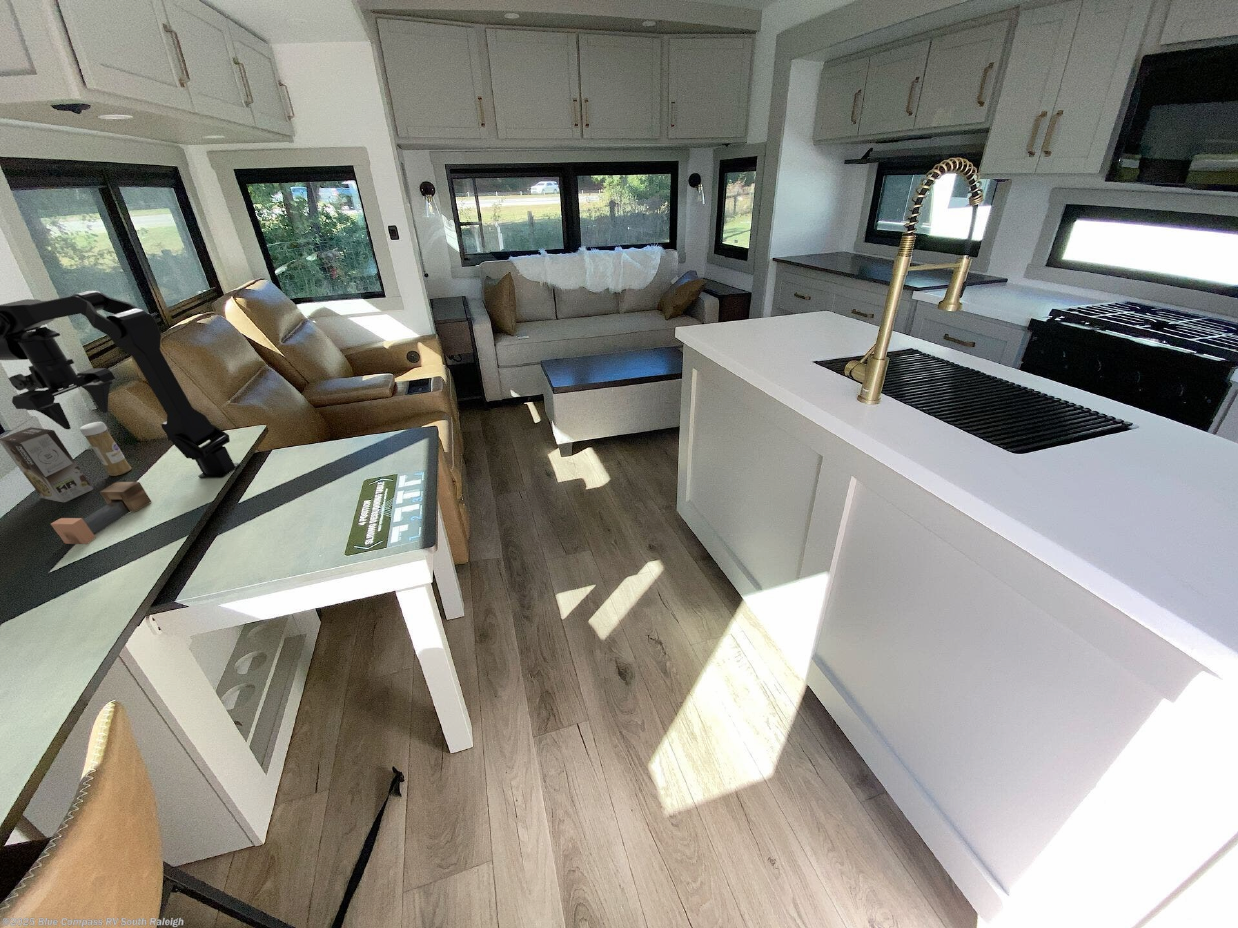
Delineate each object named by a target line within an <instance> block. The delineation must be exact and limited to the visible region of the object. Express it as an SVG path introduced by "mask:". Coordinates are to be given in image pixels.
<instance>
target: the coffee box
mask: <svg viewBox="0 0 1238 928" xmlns="http://www.w3.org/2000/svg"><path fill="white" fill-rule="evenodd" d="M0 445H1V446H2V448H3V449H4V451H6V453H7V454H8V455H9V458H11V460H12V461H13V462H14V463H15V465H16V466H17V467H18V468H19V470H20V471H21V473H22V474H23V475H24V476H25V477H26V479H27V480H28V481H29V483H30V484H31V485H32V487H33V488H34V489H35V491H36V493H38V495H39V496H40V497H41V498H42V499H45V500H48V501H49V500H50V501H55V502H60V503H67V502H69V501H71V500H74V499H77V498H78V497H80V496H83V495H84V494H87V493H89V492H91V491H93V490H94V487H93V486H92V485H91V483H90V482H89V481H88V479H87V477H86V476H85V474H84V473H83V472H82V470H81V469H80V467H79V465H78V464H77V463H76V461H75V460H74V458H73V457H72V455H71V454H70V453H69V451H68V449H67V448H66V446H65V445H64V444H63V442H62V440H61V439H60V437H59V436H58V434H57V433H56V431H55V430H53V429H46V428H41V427H40V428H39V427H33V426H32V427H31V426H30V427H27V428H25V429H21V430H18V431H16V432H14V433H11V434H9V435H6V436H3V437H1V438H0Z"/></svg>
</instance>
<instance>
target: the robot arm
mask: <svg viewBox="0 0 1238 928" xmlns="http://www.w3.org/2000/svg"><path fill="white" fill-rule="evenodd" d="M98 311H104V312H107V313H110V315H108V316H104V315H102V314H100V313H98ZM79 314H80V315H83V316H85V318H86V319H87V320H88V322H89V323H90V325H91V326H92V327H93V328H94V329H95V330H97V331H99V332H101V333H103V334H104V335H107V336H108V338H110V340H111V341H112V342H113V344H114V345H115V347H117V348H119V349H120V350H122V351H123V352H126V354H129V355H131V357H132V358H133V360H134V362H135V363H136V364H137V366H138V368H139V370H140V371H141V373H142V375H143V376H144V378H145V380H146V381H147V383H148V385H149V386H150V389H151V390H152V392H153V393H154V395H155V397H156V398H157V399H158V402H159V404H160V405H161V407H162V409H163V410H164V412H165V414H166V421H164V422H162V423H161V424H160V426H161V429H162V430H163V432H165V435H166V436H167V439H168V441H171V443H172V444H173V445H174V447H176V449H178V451H179V452H181V454H182V455H183V456H184V457H185V458H186V459H191V461H192V460H193V461H195V462H196V464H197V466H198V467H199V469H200V471H201V473H200V474H199V475H198V478H199V479H222V478H224V477H225V476H227V475H228V474H230V473H231V472H233V471H235V469H237V468H238V467H240V466H241V464H240V463H239V462H233V459H232V457H231V455H230V454H229V451H228V449H227V448H226V446H225V445H227V444H228V443H230V441H231V440H230V439H231V438H230V435H229V434H228V433H227V432H225V431H223V430H222V429H221V428H218V427H217V426H216V425H214V424H212V422H211V421H210V420H209V419H208V417H207V416H206V414H204V413H202V412H201V411H198V410H197V409H196V408H194V407H193V406H192V404H191V402H190V400H189V399H188V396H186V393H185V392H184V390H183V388H182V386H181V385H180V383H179V381H178V379H177V378H176V376H175V374H174V372H173V371H172V369H171V367H170V364H169V363H168V361H167V359H166V358H165V356H164V354H163V353H162V351H161V342H162V341H161V340H162V333H161V331H160V329H159V326H158V324H157V321H156V320H155V318H154V316H152V314H151V313H149V312H146V311H145V310H143V309H141V308H139V307H138V306H136V305H134V304H132V303H129V302H126V301H123V300H119V299H116V298H113V297H110V296H108V295H106V294H104V293H103V292H101V291H98V290H87V291H83V292H78V293H77V292H76V293H73V294H72V295H69V296H64V297H59V298H55V299H49V300H41V299H31V298H30V299H28V298H27V299H21V300H17V301H13V302H8V303H2V304H0V361H22V360H23V361H25V360H26V361H27V360H29V362H30V364H31V365H29V366H28V371H29V372H30V373H29V374H27V375H24V374H22V373H18V374H15V375H12V376H10V377H8V380H9V382H10V383H11V385H12V386H13V387H14V389H16V390H17V391H19V392H20V391H24V390H27V391H24V392H22V393H19V394H16V395H13V396H12V398H11V399H12V400H11V402H12V404H13V406H14V408H16V410H27V411H36V412H38V413H41V414H42V415H44V416H46V417H47V418H49V419H51V420H52V421H53V422H55V423H56V424H57V425H59V426H60V427H62V429H64V430H71V428H72V427H71V425H70V421H69V420H68V417H67V415H66V414H65V412H64V410H63V408H62V406H61V404H60V402H55V399H56V396H60V395H62V394H64V393H67V392H70V391H73V390H75V389H77V388H80V387H81V388H82V389H84V390H85V391H86V392H88V393H89V395H90V396H91V398H92V399H93V401H94V403H95V404H96V406H97V407H98V409H99V410H100V412H101V413H103V414H107V413H108V412H109V394H110V389H111V385H112V384H113V383H114V382H113V380H116V376H115V374H114V373H113V371H112V370H110V369H108V368H106V367H102V368H101V367H100V368H99V367H97V368H89V369H86V370H83V371H80V372H78V373H76V370H75V369H74V367H72V365H73V364H75V361H74V360H73V358H67V357H66V355H65V354H64V352H63V350H62V348H61V347H60V345H59V344H58V342H57V340H56V339H55V338H57V337H60V336H61V334H60V332H58V331H56V330H53V329H50V328H49V327H47V326H45V325H47V324H50V323H51V322H53V321H54V320H55V319H58V318H64V317H69V316H74V315H79ZM42 326H43V327H42ZM42 389H43V390H42ZM229 472H230V473H229Z"/></svg>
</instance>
